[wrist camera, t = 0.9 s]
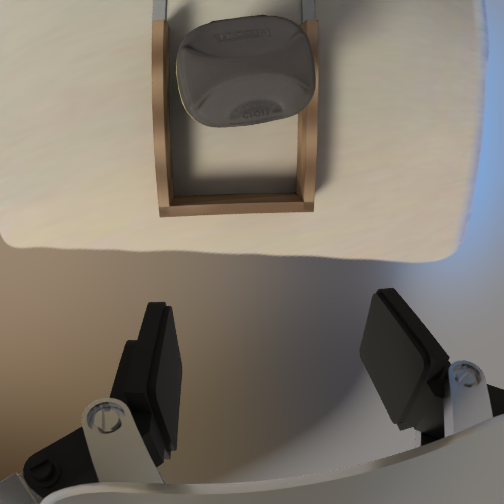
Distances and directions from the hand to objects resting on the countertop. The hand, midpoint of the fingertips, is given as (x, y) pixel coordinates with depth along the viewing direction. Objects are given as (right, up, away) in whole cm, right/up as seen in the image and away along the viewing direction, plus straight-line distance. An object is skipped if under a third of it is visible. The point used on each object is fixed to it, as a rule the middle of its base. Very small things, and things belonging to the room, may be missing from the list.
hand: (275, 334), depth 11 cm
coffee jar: (-3, +22, +23) cm, 32 cm away
